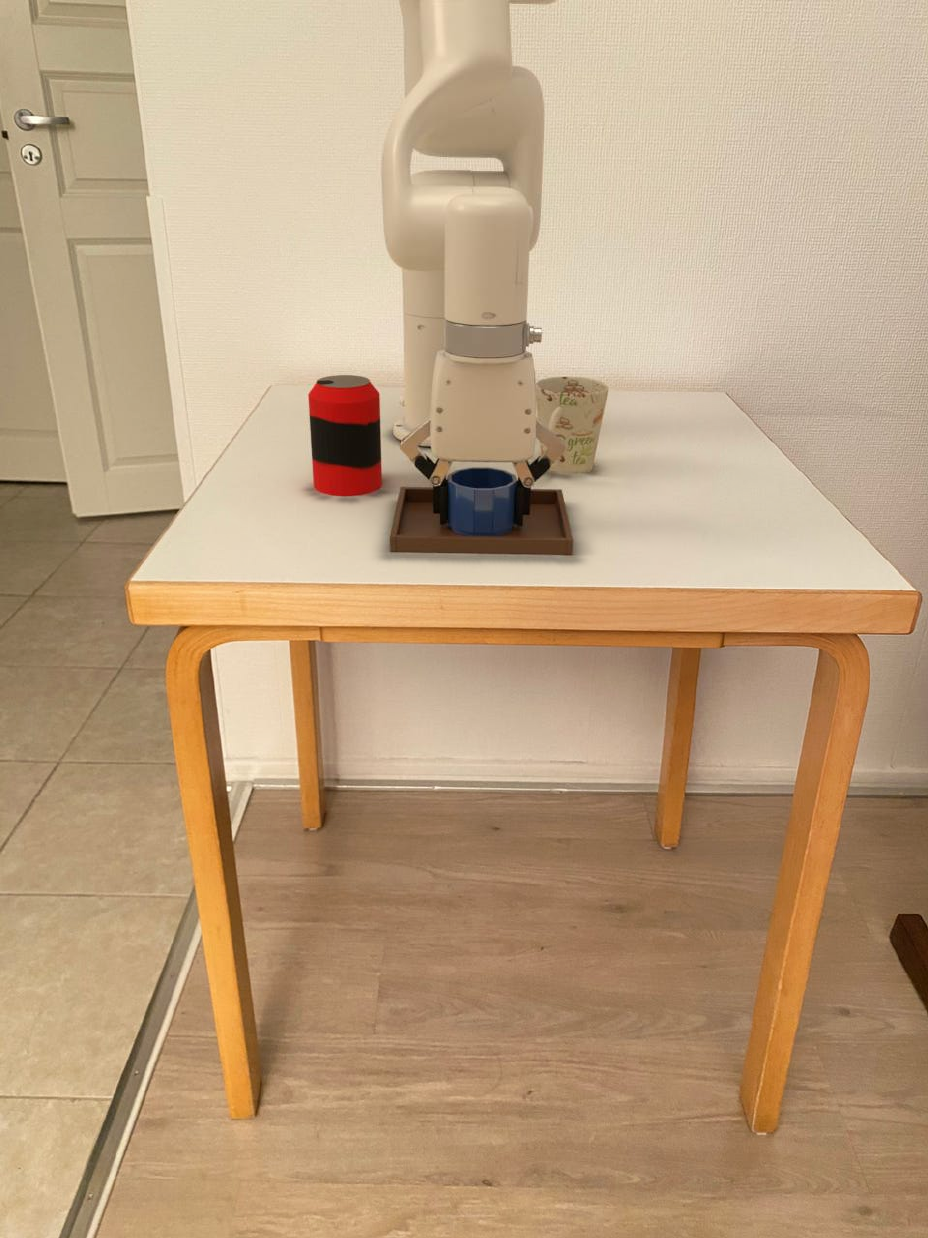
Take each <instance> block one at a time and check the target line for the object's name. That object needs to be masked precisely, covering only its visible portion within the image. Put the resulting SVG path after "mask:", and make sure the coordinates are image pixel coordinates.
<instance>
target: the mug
mask: <svg viewBox="0 0 928 1238" xmlns="http://www.w3.org/2000/svg"><path fill="white" fill-rule="evenodd" d="M535 384H536V416H537V419H538V420H539V421H540V422H542V423H543V424H544V425H545V426H546V427H547V428H548V429H549V430H551V431H552V432H553V433H554V434H555V435H556V436H557V437H558V438H560V439H561V440H562V441H563V442H564V444H565V447H566V451H565V452H564V453H563V454H562V456H561V457H560V458H559V459H558V460H557V461H556V462H555V463H553V464H552V465H551V466H550V469H549V470H548V471H551V472H554V473H558V474H559V473H560V474H580V473H581V474H582V473H587V474H589V473H591V472H592V470H593V467H594V464H595V463H594V462H595V458H596V453H597V449H598V443H599V440H600V439H599V438H600V434H601V428H602V426H603V425H602V423H603V419H604V414H605V409H606V404H607V400H608V395H609V385H608V384H607V383H605V382H604V381H602V380H598V379H594V378H589V377H581V376H552V377H547V378H542V379H540V380H538V381H537V382H535ZM538 440H539V439H538ZM546 449H547V446H545V445H544V444H543V443H542V442H541V441H540V440H539V452H540V456H541V455H542V454H543V453H544V452H545V450H546Z"/></svg>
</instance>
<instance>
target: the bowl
mask: <svg viewBox="0 0 928 1238" xmlns="http://www.w3.org/2000/svg"><path fill="white" fill-rule="evenodd" d="M446 479H447V483H448V489H447V523H448V526H449V528H450V529H451V530H452V531H453V532H455V533H457V534H460V535H463V536H495V537H497V536H501V535H504V534H507V533H509V532H510V531H511V530H512V529H513V527H514V525H515V518H516V491H517V480H518V478H517V475H515V474H514V473H512V472H510V471H508V470H505V469H501V468H496V467H489V466H488V467H485V466H484V467H482V466H480V467H477V466H476V467H475V466H473V467H467V468H466V467H465V468H461V469H456V470H454V471H452V472H450V473H449V474H447V475H446Z"/></svg>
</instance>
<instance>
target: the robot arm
mask: <svg viewBox="0 0 928 1238" xmlns="http://www.w3.org/2000/svg"><path fill="white" fill-rule="evenodd" d="M557 1H558V0H398V2H399V6H400V11H401V15H402V26H403V69H404V70H403V73H404V74H403V75H404V77H403V78H404V99H403V101H402V102H401V103H400V105H399V106H398V108H397V110H396V112H395V113H394V115H393V117H392V119H391V121H390V124H389V125H388V129H387V132H386V134H385V139H384V142H383V147H382V153H381V163H380V165H381V167H380V171H381V172H380V178H381V201H382V202H381V203H382V204H381V205H382V223H383V235H384V242H385V246H386V247H385V248H386V251H387V253H388V255H389V258H390V259H391V260H392V262H393V263H394V264H395V265H396V266H397V267H399V268H401V279H402V312H403V313H402V314H403V315H402V317H403V318H402V319H403V364H404V365H403V375H404V376H403V377H404V394H403V395H401V396H400V397H399V398H398V404H399V405H400V406H402V407H404V408H403V409H404V417H402V418H401V419H399V420H397V421H396V422H395V423H394V424H393V426H392V427H393V431H392V433H393V436H394V437H395V438H396V439H398V440H399V441H400V444H399V449H400V450H401V452H402V453H403V454H404V455H405V456H406V457H407V458H408V460H409V461H410V462H412V464H413V465H414V467H415V468H416V470H418V471H419V472H420V474H422V475H423V476H424V477H425V478H426V479H427V480H428V481H429V483H430V485H431V486H432V487H433V514H440V525H445V523H447V489H448V483H447V475H448V472H449V470H450V468H451V466H452V464H453V462H455V463H457V462H458V463H511V465H512V466H513V468H514V469H515V472H516V474H517V476H518V477H517V491H516V518H515V525H517V526H523V515H530V497H531V489H532V488H533V487H534V485H535V483H536V482H537V481H538V480H539V479H540V478H542V476H544V475H545V474H546V473H547V472H548V471H550V470H549V469H550V466H551V465H552V464H553V463H555V462H556V461H557V460H558V459H559V458H560V457H561V456H562V454H563V453H564V452H565V451H566V447H565V444H564V442H563V441H562V440H561V439H560V438H558V437H557V436H556V435H555V434H554V433H553V432H552V431H551V430H549V429H548V428H547V427H546V426H545V425H544V424H543V423H542V422H540V421H539V420H538V417H537V403H536V370H535V361H534V356H533V353H532V352H530V351H528V350H527V347H530V345H533V344H534V343H542V338H543V328H542V327H535V326H534V325H530V323H529V322H527V320H528V319H527V317H528V297H529V296H528V295H529V293H528V291H529V268H530V267H529V265H530V252H531V251H532V250H533V249H534V248H535V246H536V245H537V243H538V240H539V234H540V231H541V230H540V229H541V220H542V203H543V196H542V195H543V175H544V173H543V172H544V149H545V148H544V147H545V145H544V144H545V101H544V93H543V90H542V86H541V83H540V81H539V79H538V77H537V75H536V74H535V73H534V72H533V71H532V70H530V69H529V68H526V67H524V66H519V65H513V51H512V49H513V48H512V36H511V35H512V34H511V11H510V4H513V5H538V6H539V5H540V6H541V5H542V6H543V5H544V6H545V5H551V4H554V3H555V2H557ZM414 150H415V152H417V153H419V154H421V155H424V156H429V157H436V158H462V159H463V158H465V159H466V158H469V159H472V158H474V159H496V160H498V161H499V162H500V163H501V165H502V169H503V170H470V169H469V170H468V169H465V170H464V169H463V170H462V169H432V170H424V171H419V172H414V173H412V174H411V162H412V161H411V160H412V154H413V151H414ZM537 440H540V441H541V442H542V443H543V444H544V445H545V446H547V449H546V450H545V452H544V453H543V454H542V455H541V454H540V455H539V456H537V458H535V459H534V460H533V461H532V462H531V463H530V462H529V460H530V459H532V458H533V456H534V455H535V451H536V444H537V443H536V442H537ZM540 441H539V442H540ZM420 447H429V448H430V450H431V454H432V456H433V457H435V458H436V460H435V462H434V461H433V460H432V459H431V458H430V457H429V456H428V455H427V454H426V453H424V452H423V451H422V449H421V448H420Z"/></svg>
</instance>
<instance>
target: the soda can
mask: <svg viewBox="0 0 928 1238" xmlns="http://www.w3.org/2000/svg"><path fill="white" fill-rule="evenodd" d="M307 395H308V412H309V426H310V427H309V429H310V446H311V447H310V448H311V462H312V463H311V465H312V479H313V480H312V481H313V488H314V489H315V491H317V492H318V493H321V494H323V495H327V496H334V497H359V496H365V495H369V494H372V493H375V492H376V491H379V490H380V489H381V488H382V486H383V477H382V476H383V475H382V473H383V472H382V471H383V469H382V440H381V439H382V438H381V437H382V436H381V402H380V401H381V397H380V392H379V391H378V389H377V388H376V386H374V385H373V383H372V382H371V380H370V378H367V377H365V376H361V375H353V374H339V375H337V374H336V375H329V376H324V377H320V378H318V379H317V380H316V382H315V384H314V385H313V387H312V388H311V390H310V391H309V392H308V394H307Z"/></svg>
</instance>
